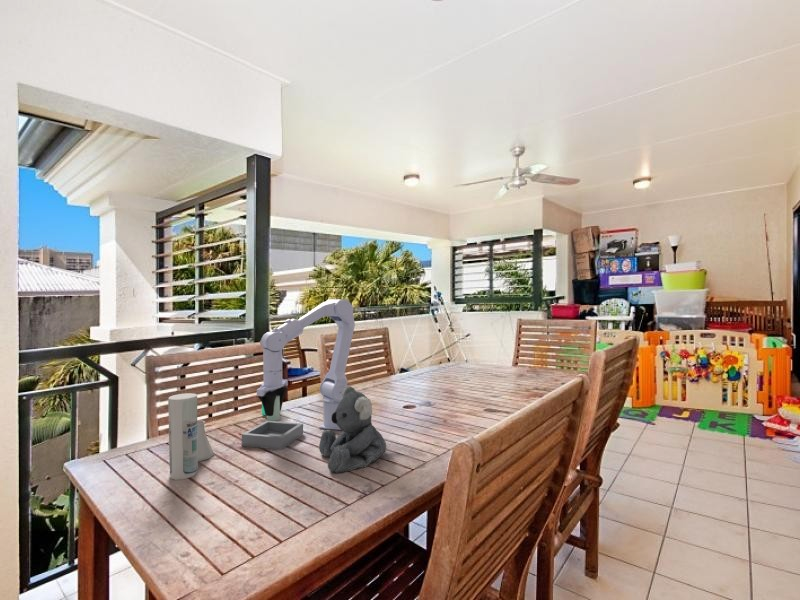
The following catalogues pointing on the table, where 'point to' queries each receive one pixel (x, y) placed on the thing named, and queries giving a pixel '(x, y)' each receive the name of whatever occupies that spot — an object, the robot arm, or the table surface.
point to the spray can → (183, 435)
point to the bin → (272, 435)
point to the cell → (275, 410)
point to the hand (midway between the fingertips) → (273, 413)
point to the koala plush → (352, 434)
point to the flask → (203, 443)
